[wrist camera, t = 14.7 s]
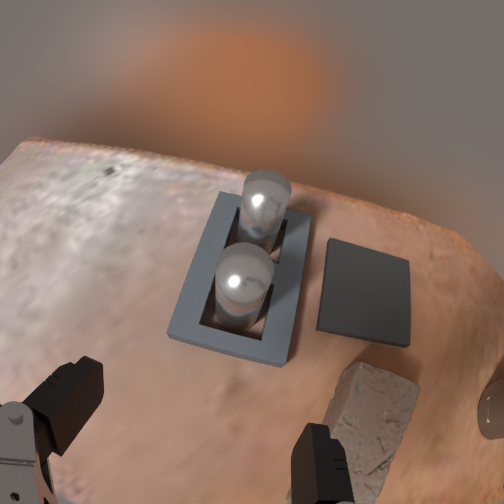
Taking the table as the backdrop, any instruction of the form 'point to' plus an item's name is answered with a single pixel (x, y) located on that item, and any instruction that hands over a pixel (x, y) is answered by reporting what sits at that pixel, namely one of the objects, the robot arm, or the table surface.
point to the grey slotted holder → (281, 287)
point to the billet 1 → (263, 208)
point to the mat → (365, 295)
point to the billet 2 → (241, 284)
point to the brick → (369, 424)
